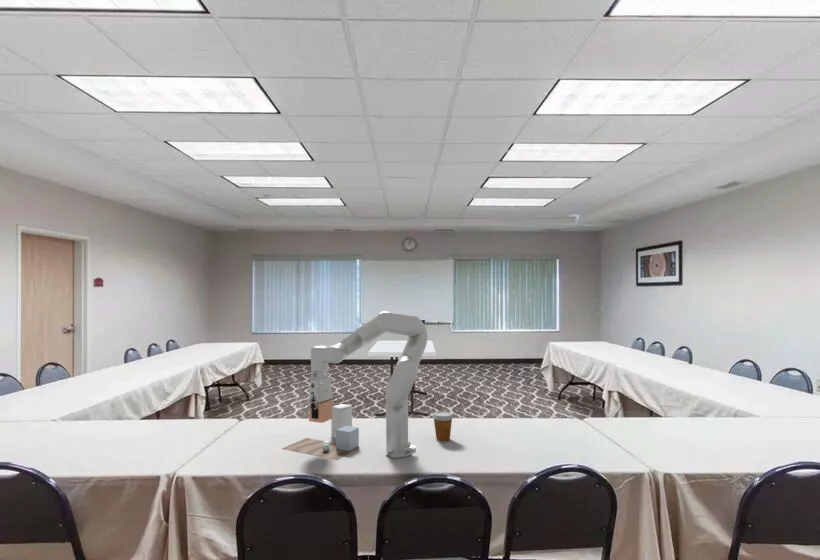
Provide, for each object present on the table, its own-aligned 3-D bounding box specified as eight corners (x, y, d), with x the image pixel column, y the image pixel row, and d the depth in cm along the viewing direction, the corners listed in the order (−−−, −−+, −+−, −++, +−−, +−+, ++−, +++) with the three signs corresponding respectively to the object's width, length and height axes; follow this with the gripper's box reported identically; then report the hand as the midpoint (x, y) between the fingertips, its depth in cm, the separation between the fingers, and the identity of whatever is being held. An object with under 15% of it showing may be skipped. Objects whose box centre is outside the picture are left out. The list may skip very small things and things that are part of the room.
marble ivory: (321, 447, 182) (327, 450, 182) (322, 444, 180) (328, 447, 180) (324, 441, 184) (330, 444, 184) (325, 438, 182) (331, 441, 182)
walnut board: (359, 451, 182) (359, 447, 182) (337, 463, 168) (337, 460, 168) (306, 441, 196) (306, 437, 196) (281, 452, 182) (281, 448, 182)
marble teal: (321, 451, 179) (329, 452, 179) (321, 450, 176) (328, 450, 177) (323, 444, 180) (330, 444, 181) (323, 442, 178) (330, 443, 178)
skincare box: (339, 442, 194) (339, 408, 194) (330, 439, 198) (330, 406, 198) (352, 437, 200) (352, 404, 201) (343, 435, 204) (343, 403, 205)
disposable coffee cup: (453, 436, 201) (452, 411, 202) (453, 443, 192) (452, 416, 192) (433, 435, 202) (433, 410, 203) (432, 442, 192) (432, 416, 193)
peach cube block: (332, 418, 182) (331, 400, 182) (322, 422, 176) (321, 403, 176) (319, 416, 185) (319, 398, 186) (309, 421, 179) (308, 402, 179)
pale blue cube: (358, 446, 184) (358, 427, 185) (349, 451, 178) (349, 432, 179) (345, 443, 188) (345, 425, 188) (336, 448, 181) (336, 429, 182)
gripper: (313, 378, 172) (314, 422, 171) (339, 371, 187) (339, 411, 187) (299, 377, 175) (300, 420, 174) (325, 370, 191) (326, 410, 190)
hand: (320, 415), depth 181 cm, fingers closed on peach cube block, 7 cm apart
